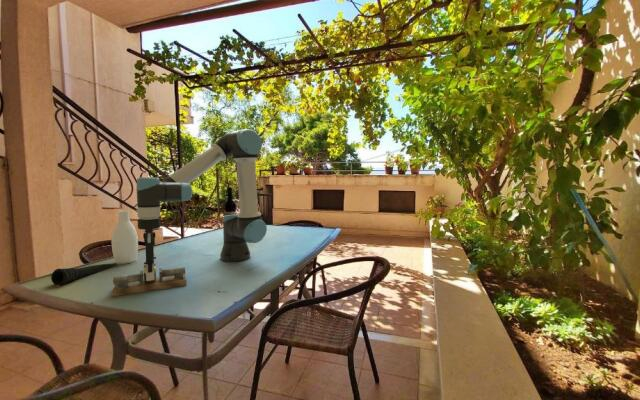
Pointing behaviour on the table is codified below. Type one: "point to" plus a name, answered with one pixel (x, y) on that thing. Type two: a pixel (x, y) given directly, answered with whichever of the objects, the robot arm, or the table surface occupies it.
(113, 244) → the bottle
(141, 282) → the double roll holder
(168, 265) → the table surface
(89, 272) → the tool
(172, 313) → the table surface
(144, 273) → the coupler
